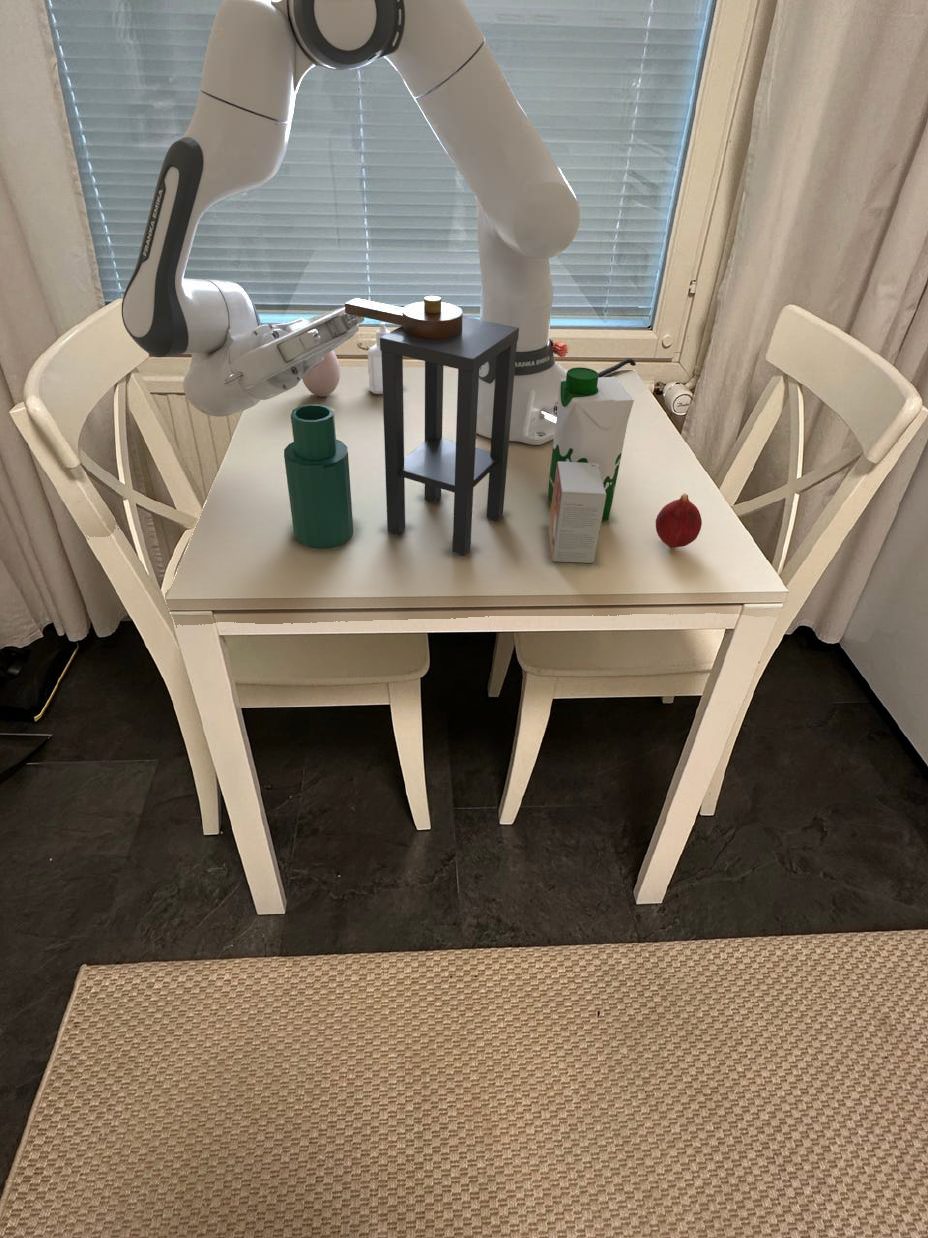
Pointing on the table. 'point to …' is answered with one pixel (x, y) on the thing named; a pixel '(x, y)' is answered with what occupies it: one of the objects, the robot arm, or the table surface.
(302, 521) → the bottle
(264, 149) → the robot arm
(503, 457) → the stand
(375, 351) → the white tall narrow container
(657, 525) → the onion
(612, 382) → the milk carton
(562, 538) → the small box
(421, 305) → the lid
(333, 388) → the egg
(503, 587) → the table surface
